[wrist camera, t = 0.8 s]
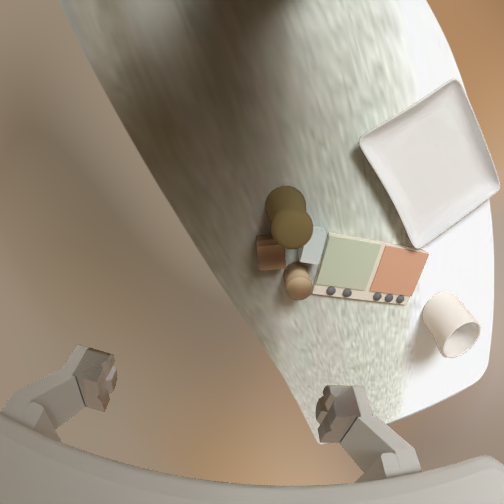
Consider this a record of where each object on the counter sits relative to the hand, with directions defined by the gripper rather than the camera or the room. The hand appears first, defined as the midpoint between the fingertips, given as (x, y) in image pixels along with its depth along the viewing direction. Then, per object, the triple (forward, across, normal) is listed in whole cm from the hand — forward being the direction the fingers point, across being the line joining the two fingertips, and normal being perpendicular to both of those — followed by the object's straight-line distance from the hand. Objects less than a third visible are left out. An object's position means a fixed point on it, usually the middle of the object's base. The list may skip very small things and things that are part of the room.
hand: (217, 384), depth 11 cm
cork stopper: (+38, -10, +14) cm, 42 cm away
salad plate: (+38, -29, -9) cm, 48 cm away
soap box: (+38, -12, +8) cm, 40 cm away
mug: (+38, -42, +19) cm, 60 cm away
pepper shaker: (+38, -6, +3) cm, 38 cm away
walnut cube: (+38, -6, +10) cm, 39 cm away
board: (+38, -24, +11) cm, 46 cm away
